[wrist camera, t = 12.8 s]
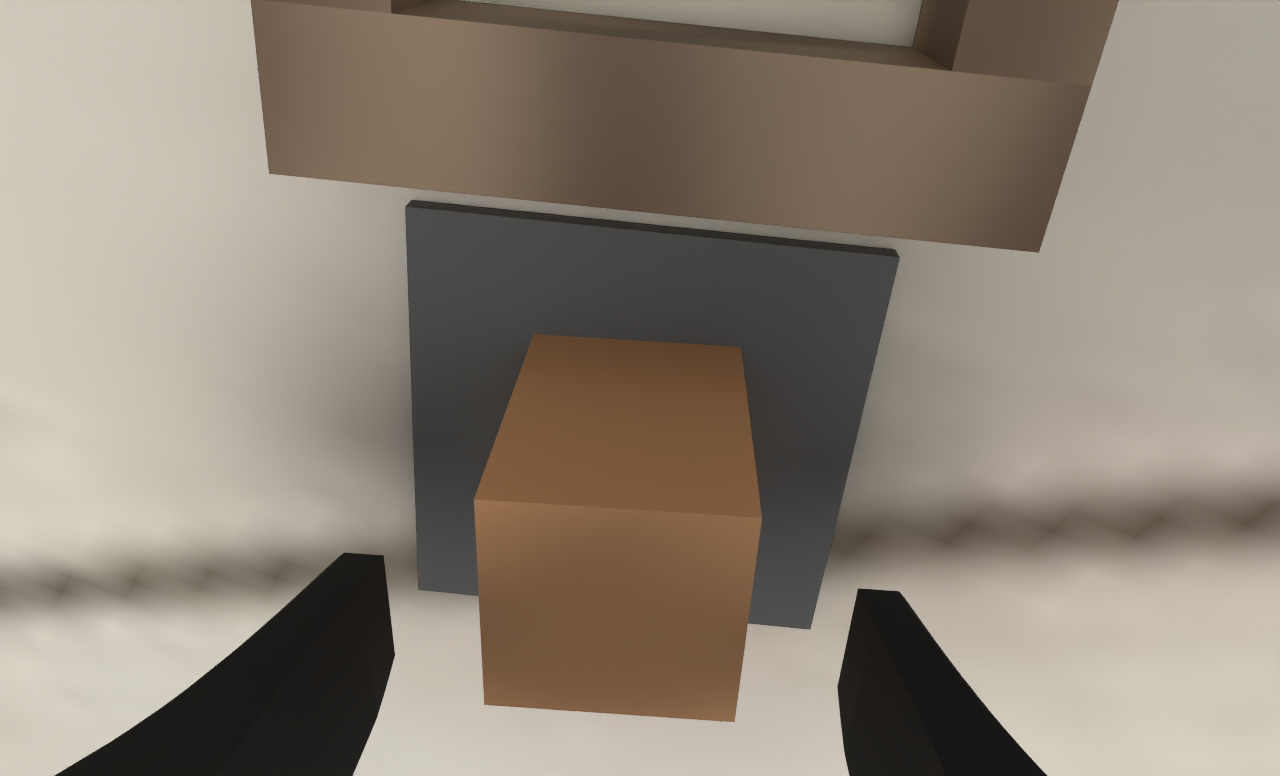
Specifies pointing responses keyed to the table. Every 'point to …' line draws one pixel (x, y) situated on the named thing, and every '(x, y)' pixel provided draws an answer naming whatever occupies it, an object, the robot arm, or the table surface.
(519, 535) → the terracotta block
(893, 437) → the table surface
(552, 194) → the brown flat rectangular frame
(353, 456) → the table surface
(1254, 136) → the table surface
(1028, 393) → the table surface
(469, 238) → the rubber mat
